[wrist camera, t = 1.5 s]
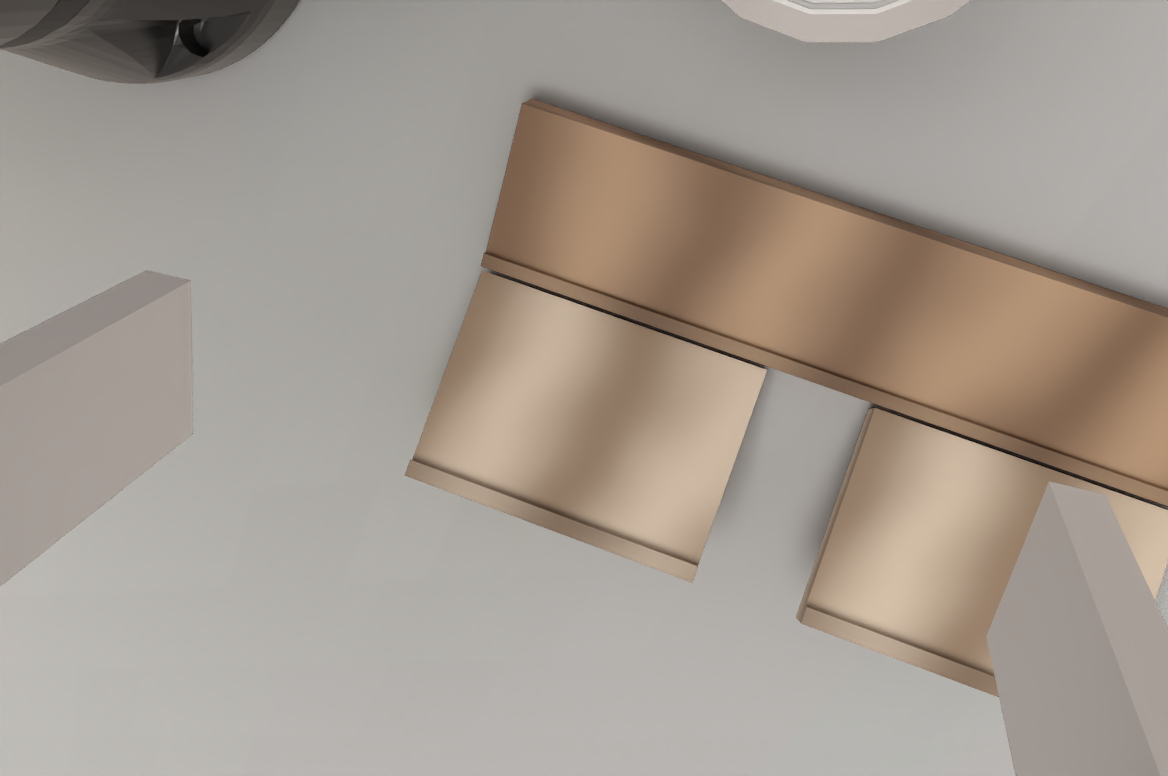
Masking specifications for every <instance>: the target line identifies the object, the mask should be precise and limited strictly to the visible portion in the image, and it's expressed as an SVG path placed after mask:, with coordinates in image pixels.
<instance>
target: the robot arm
mask: <svg viewBox="0 0 1168 776" xmlns="http://www.w3.org/2000/svg"><path fill="white" fill-rule="evenodd" d="M298 1H299V0H0V49H2V50H5V51H9V52H12V53H15V54H18V55H21V56H24V57H27V58H30V59H34V60H37V61H40V62H43V63H46V64H49V65H52V66H55V67H58V68H62V69H65V70H68V71H71V72H74V73H77V74H81V75H84V76H87V77H91V78H95V79H99V80H104V81H111V82H118V83H135V84H146V83H159V82H166V81H172V80H177V79H182V78H188V77H193V76H198V75H202V74H206V73H210V72H213V71H216V70H219V69H222V68H224V67H226V66H229V65H231V64H233V63H235V62H237V61H239V60H240V59H242V58H244V57H245V56H247V55H248V54H250V53H251V52H253V51H254V50H256V49H257V48H258V47H259V46H261V45H262V44H263V43H264V42H266V41H267V40H268V39H269V38H270V37H271V36H272V35H273V34H274V33H275V32H276V31H277V30H278V29H279V27H280V26H281V25H282V24H283V23H284V22H285V20H286V19H287V18H288V16H289V15H290V14H291V12H292V11H293V9H294V8H295V6H296V5H297V3H298ZM192 434H193V390H192V315H191V280H186V279H182V278H178V277H173V276H169V275H165V274H161V273H156V272H152V271H148V270H146V271H144V272H142V273H140V274H138V275H136V276H134V277H132V278H130V279H128V280H126V281H124V282H122V283H120V284H118V285H116V286H114V287H112V288H110V289H108V290H106V291H104V292H102V293H100V294H98V295H96V296H94V297H92V298H90V299H88V300H86V301H84V302H82V303H80V304H78V305H76V306H74V307H72V308H70V309H68V310H66V311H64V312H62V313H60V314H58V315H56V316H54V317H52V318H50V319H48V320H46V321H44V322H42V323H40V324H38V325H37V326H35V327H33V328H31V329H29V330H27V331H25V332H23V333H21V334H19V335H17V336H15V337H13V338H11V339H9V340H7V341H5V342H3V343H1V344H0V586H2V585H3V584H4V583H5V582H7V581H8V580H9V579H11V578H12V577H13V576H14V575H16V574H17V573H18V572H19V571H21V570H22V569H23V568H24V567H26V566H27V565H28V564H29V563H31V562H32V561H33V560H34V559H36V558H37V557H38V556H40V555H41V554H42V553H43V552H45V551H46V550H47V549H48V548H50V547H51V546H52V545H53V544H55V543H56V542H57V541H58V540H60V539H61V538H62V537H63V536H65V535H66V534H67V533H69V532H70V531H71V530H72V529H74V528H75V527H76V526H77V525H79V524H80V523H81V522H82V521H84V520H85V519H86V518H87V517H89V516H90V515H91V514H92V513H94V512H95V511H96V510H98V509H99V508H100V507H101V506H103V505H104V504H105V503H106V502H108V501H109V500H110V499H111V498H113V497H114V496H115V495H116V494H118V493H119V492H120V491H122V490H123V489H124V488H125V487H127V486H128V485H129V484H130V483H132V482H133V481H134V480H135V479H137V478H138V477H139V476H140V475H142V474H143V473H144V472H145V471H147V470H148V469H149V468H151V467H152V466H153V465H154V464H156V463H157V462H158V461H159V460H161V459H162V458H163V457H164V456H166V455H167V454H168V453H169V452H171V451H172V450H173V449H174V448H176V447H177V446H178V445H180V444H181V443H182V442H183V441H185V440H186V439H187V438H188V437H190V436H191V435H192ZM986 637H987V641H988V646H989V651H990V656H991V661H992V665H993V670H994V675H995V680H996V684H997V689H998V694H999V699H1000V703H1001V708H1002V713H1003V718H1004V722H1005V727H1006V732H1007V737H1008V742H1009V746H1010V751H1011V756H1012V761H1013V765H1014V770H1015V775H1016V776H1168V627H1167V625H1166V623H1165V620H1164V618H1163V616H1162V614H1161V612H1160V610H1159V608H1158V606H1157V603H1156V601H1155V599H1154V597H1153V595H1152V593H1151V591H1150V589H1149V586H1148V584H1147V582H1146V580H1145V578H1144V576H1143V574H1142V572H1141V569H1140V567H1139V565H1138V563H1137V561H1136V559H1135V557H1134V554H1133V552H1132V550H1131V548H1130V546H1129V544H1128V542H1127V540H1126V537H1125V535H1124V533H1123V531H1122V529H1121V527H1120V525H1119V523H1118V520H1117V518H1116V516H1115V514H1114V512H1113V510H1112V508H1111V506H1110V503H1109V501H1108V499H1107V497H1106V495H1105V494H1101V493H1096V492H1092V491H1088V490H1084V489H1079V488H1075V487H1071V486H1066V485H1062V484H1058V483H1054V482H1048V485H1047V487H1046V490H1045V492H1044V495H1043V497H1042V500H1041V502H1040V505H1039V507H1038V510H1037V512H1036V515H1035V517H1034V520H1033V522H1032V525H1031V527H1030V529H1029V532H1028V534H1027V537H1026V539H1025V542H1024V544H1023V547H1022V549H1021V552H1020V554H1019V557H1018V559H1017V562H1016V564H1015V567H1014V569H1013V572H1012V574H1011V577H1010V579H1009V581H1008V584H1007V586H1006V589H1005V591H1004V594H1003V596H1002V599H1001V601H1000V604H999V606H998V609H997V611H996V614H995V616H994V619H993V621H992V624H991V626H990V629H989V631H988V633H987V636H986Z"/></svg>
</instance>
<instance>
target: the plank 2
mask: <svg viewBox="0 0 1168 776" xmlns="http://www.w3.org/2000/svg"><path fill="white" fill-rule="evenodd" d="M1048 482H1054V483H1058V484H1062V485H1066V486H1071V487H1075V488H1079V489H1084V490H1088V491H1092V492H1096V493H1101V494H1105V495H1106V497H1107V499H1108V501H1109V503H1110V506H1111V508H1112V510H1113V512H1114V514H1115V516H1116V518H1117V520H1118V523H1119V525H1120V527H1121V529H1122V531H1123V533H1124V535H1125V537H1126V540H1127V542H1128V544H1129V546H1130V548H1131V550H1132V552H1133V554H1134V557H1135V559H1136V561H1137V563H1138V565H1139V567H1140V569H1141V572H1142V574H1143V576H1144V578H1145V580H1146V582H1147V584H1148V586H1149V589H1150V591H1151V593H1152V595H1153V597H1154V599H1156V596H1157V593H1158V590H1159V587H1160V584H1161V581H1162V578H1163V575H1164V572H1165V569H1166V566H1167V563H1168V510H1166V509H1163V508H1160V507H1157V506H1154V505H1152V504H1149V503H1146V502H1143V501H1140V500H1137V499H1134V498H1132V497H1129V496H1126V495H1123V494H1120V493H1117V492H1114V491H1111V490H1109V489H1106V488H1103V487H1100V486H1097V485H1094V484H1091V483H1089V482H1086V481H1083V480H1080V479H1077V478H1074V477H1071V476H1069V475H1066V474H1063V473H1060V472H1057V471H1054V470H1051V469H1049V468H1046V467H1043V466H1040V465H1037V464H1034V463H1031V462H1029V461H1026V460H1023V459H1020V458H1017V457H1014V456H1011V455H1009V454H1006V453H1003V452H1000V451H997V450H994V449H991V448H989V447H986V446H983V445H980V444H977V443H974V442H971V441H969V440H966V439H963V438H960V437H957V436H954V435H951V434H949V433H946V432H943V431H940V430H937V429H934V428H931V427H928V426H926V425H923V424H920V423H917V422H914V421H911V420H908V419H906V418H903V417H900V416H897V415H894V414H891V413H888V412H886V411H883V410H880V409H877V408H872V409H869V410H868V412H867V415H866V418H865V421H864V424H863V427H862V429H861V432H860V435H859V438H858V441H857V444H856V447H855V449H854V452H853V455H852V458H851V461H850V464H849V467H848V469H847V472H846V475H845V478H844V481H843V484H842V487H841V489H840V492H839V495H838V498H837V501H836V504H835V507H834V509H833V512H832V515H831V518H830V521H829V524H828V527H827V529H826V532H825V535H824V538H823V541H822V544H821V546H820V549H819V552H818V555H817V558H816V561H815V564H814V566H813V569H812V572H811V575H810V578H809V581H808V584H807V586H806V589H805V592H804V595H803V598H802V601H801V604H800V606H799V609H798V612H797V615H796V618H797V619H798V620H799V621H800V623H801V624H804V625H807V626H810V627H812V628H815V629H818V630H820V631H823V632H826V633H828V634H831V635H834V636H836V637H839V638H842V639H844V640H847V641H850V642H852V643H855V644H858V645H860V646H863V647H866V648H868V649H871V650H874V651H877V652H879V653H882V654H885V655H887V656H890V657H893V658H895V659H898V660H901V661H903V662H906V663H909V664H911V665H914V666H917V667H919V668H922V669H925V670H927V671H930V672H933V673H935V674H938V675H941V676H943V677H946V678H949V679H952V680H954V681H957V682H960V683H962V684H965V685H968V686H970V687H973V688H976V689H978V690H981V691H984V692H986V693H989V694H992V695H994V696H997V697H999V694H998V689H997V684H996V680H995V675H994V670H993V665H992V661H991V656H990V651H989V646H988V641H987V637H986V636H987V633H988V631H989V629H990V626H991V624H992V621H993V619H994V616H995V614H996V611H997V609H998V606H999V604H1000V601H1001V599H1002V596H1003V594H1004V591H1005V589H1006V586H1007V584H1008V581H1009V579H1010V577H1011V574H1012V572H1013V569H1014V567H1015V564H1016V562H1017V559H1018V557H1019V554H1020V552H1021V549H1022V547H1023V544H1024V542H1025V539H1026V537H1027V534H1028V532H1029V529H1030V527H1031V525H1032V522H1033V520H1034V517H1035V515H1036V512H1037V510H1038V507H1039V505H1040V502H1041V500H1042V497H1043V495H1044V492H1045V490H1046V487H1047V485H1048Z"/></svg>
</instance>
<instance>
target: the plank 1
mask: <svg viewBox="0 0 1168 776" xmlns="http://www.w3.org/2000/svg"><path fill="white" fill-rule="evenodd" d="M766 372H767V370H766V369H763V368H760V367H757V366H754V365H751V364H748V363H746V362H743V361H740V360H737V359H734V358H731V357H728V356H725V355H723V354H720V353H717V352H714V351H711V350H708V349H705V348H703V347H700V346H697V345H694V344H691V343H688V342H685V341H683V340H680V339H677V338H674V337H671V336H668V335H665V334H663V333H660V332H657V331H654V330H651V329H648V328H645V327H643V326H640V325H637V324H634V323H631V322H628V321H625V320H623V319H620V318H617V317H614V316H611V315H608V314H605V313H603V312H600V311H597V310H594V309H591V308H588V307H585V306H583V305H580V304H577V303H574V302H571V301H568V300H565V299H563V298H560V297H557V296H554V295H551V294H548V293H545V292H542V291H540V290H537V289H534V288H531V287H528V286H525V285H522V284H520V283H517V282H514V281H511V280H508V279H505V278H502V277H500V276H497V275H494V274H491V273H488V272H485V271H482V272H481V275H480V278H479V280H478V283H477V286H476V289H475V291H474V294H473V297H472V299H471V302H470V305H469V308H468V310H467V313H466V316H465V318H464V321H463V324H462V327H461V329H460V332H459V335H458V337H457V340H456V343H455V346H454V348H453V351H452V354H451V356H450V359H449V362H448V365H447V367H446V370H445V373H444V375H443V378H442V381H441V384H440V386H439V389H438V392H437V394H436V397H435V400H434V403H433V405H432V408H431V411H430V413H429V416H428V419H427V421H426V424H425V427H424V430H423V432H422V435H421V438H420V440H419V443H418V446H417V449H416V451H415V454H414V457H413V459H412V460H410V462H409V465H408V468H407V470H406V473H405V476H408V477H410V478H413V479H416V480H418V481H421V482H424V483H426V484H429V485H432V486H435V487H437V488H440V489H443V490H445V491H448V492H451V493H453V494H456V495H459V496H461V497H464V498H467V499H469V500H472V501H475V502H477V503H480V504H483V505H485V506H488V507H491V508H493V509H496V510H499V511H501V512H504V513H507V514H510V515H512V516H515V517H518V518H520V519H523V520H526V521H528V522H531V523H534V524H536V525H539V526H542V527H544V528H547V529H550V530H552V531H555V532H558V533H560V534H563V535H566V536H568V537H571V538H574V539H576V540H579V541H582V542H585V543H587V544H590V545H593V546H595V547H598V548H601V549H603V550H606V551H609V552H611V553H614V554H617V555H619V556H622V557H625V558H627V559H630V560H633V561H635V562H638V563H641V564H643V565H646V566H649V567H651V568H654V569H657V570H660V571H662V572H665V573H668V574H670V575H673V576H676V577H678V578H681V579H684V580H686V581H689V582H693V579H694V577H695V574H696V571H697V568H698V564H699V561H700V558H701V555H702V552H703V550H704V547H705V544H706V541H707V538H708V536H709V533H710V530H711V527H712V524H713V522H714V519H715V516H716V513H717V510H718V507H719V505H720V502H721V499H722V496H723V493H724V491H725V488H726V485H727V482H728V479H729V476H730V474H731V471H732V468H733V465H734V462H735V460H736V457H737V454H738V451H739V448H740V445H741V443H742V440H743V437H744V434H745V431H746V429H747V426H748V423H749V420H750V417H751V414H752V412H753V409H754V406H755V403H756V400H757V398H758V395H759V392H760V389H761V386H762V383H763V381H764V378H765V375H766Z"/></svg>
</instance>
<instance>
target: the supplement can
mask: <svg viewBox="0 0 1168 776" xmlns="http://www.w3.org/2000/svg"><path fill="white" fill-rule="evenodd" d="M722 1H723V2H724V3H725V4H726V5H727V6H728V7H729V8H730V9H732V10H733V11H734V12H735V13H736V14H737V15H738V16H739V17H741V18H743V19H746V20H749V21H751V22H754V23H756V24H759V25H762V26H764V27H767V28H769V29H772V30H775V31H777V32H780V33H782V34H785V35H788V36H790V37H793V38H795V39H798V40H801V41H803V42H879V41H881V40H884V39H887V38H890V37H893V36H895V35H898V34H901V33H904V32H907V31H909V30H912V29H915V28H918V27H921V26H923V25H926V24H929V23H932V22H935V21H937V20H940V19H943V18H946V17H949V16H950V15H952V14H953V13H954V12H955V11H957V10H958V9H959V8H961V7H962V6H963V5H964V4H966V3H967V2H968V1H970V0H722Z"/></svg>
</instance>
